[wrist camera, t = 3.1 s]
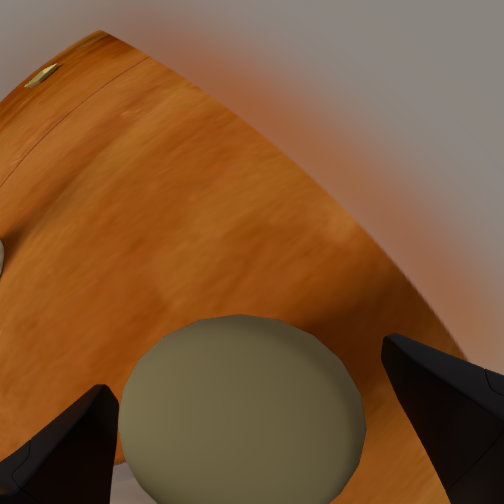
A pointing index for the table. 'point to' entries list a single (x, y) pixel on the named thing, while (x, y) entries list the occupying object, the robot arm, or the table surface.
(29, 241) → the table surface
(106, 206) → the table surface
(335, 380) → the olive pepper mill
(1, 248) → the hand bell
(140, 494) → the divided tray
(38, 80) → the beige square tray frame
